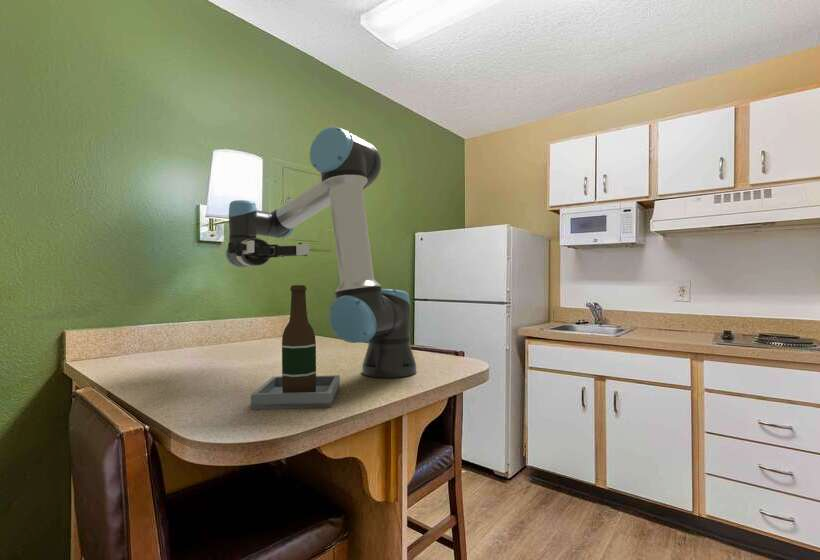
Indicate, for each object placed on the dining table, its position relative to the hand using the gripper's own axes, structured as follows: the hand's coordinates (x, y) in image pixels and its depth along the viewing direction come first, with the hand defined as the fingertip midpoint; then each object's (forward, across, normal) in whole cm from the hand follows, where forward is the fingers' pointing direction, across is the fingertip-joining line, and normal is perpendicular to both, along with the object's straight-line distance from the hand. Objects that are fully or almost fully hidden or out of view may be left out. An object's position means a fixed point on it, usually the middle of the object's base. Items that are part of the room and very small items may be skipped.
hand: (281, 247), depth 102 cm
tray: (+10, 0, -34) cm, 35 cm away
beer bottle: (+10, 0, -33) cm, 35 cm away
